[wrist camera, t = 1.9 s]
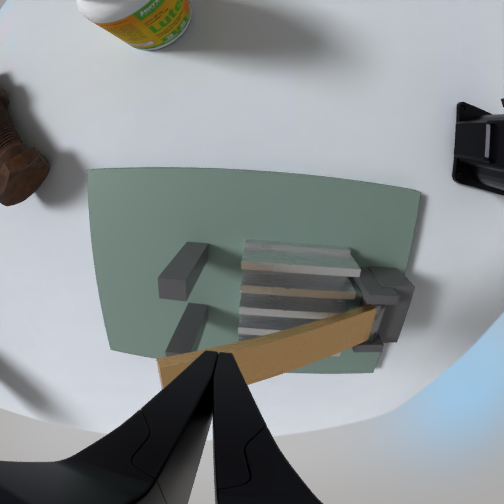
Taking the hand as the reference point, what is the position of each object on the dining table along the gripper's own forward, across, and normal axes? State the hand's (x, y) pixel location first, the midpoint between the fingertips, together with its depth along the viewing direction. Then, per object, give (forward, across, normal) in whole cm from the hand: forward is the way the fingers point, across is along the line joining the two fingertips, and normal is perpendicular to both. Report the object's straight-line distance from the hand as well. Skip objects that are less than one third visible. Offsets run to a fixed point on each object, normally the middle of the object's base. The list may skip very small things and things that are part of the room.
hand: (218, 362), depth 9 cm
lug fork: (+12, +3, +3) cm, 13 cm away
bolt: (+14, +23, -9) cm, 28 cm away
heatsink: (+12, -4, +3) cm, 13 cm away
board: (+13, 0, +3) cm, 13 cm away
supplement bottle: (+13, +8, -16) cm, 22 cm away
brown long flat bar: (+6, -3, +3) cm, 7 cm away
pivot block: (+12, -9, +3) cm, 15 cm away
